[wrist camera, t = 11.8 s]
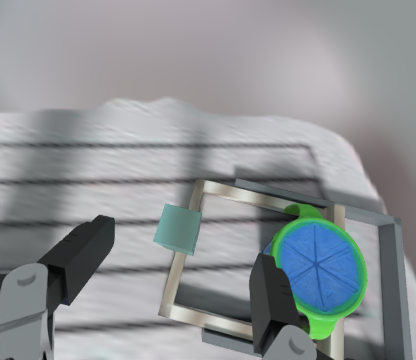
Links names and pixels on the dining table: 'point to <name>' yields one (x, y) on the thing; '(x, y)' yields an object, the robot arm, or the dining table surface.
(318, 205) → the rectangular frame
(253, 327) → the robot arm
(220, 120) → the dining table surface
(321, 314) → the snack cup
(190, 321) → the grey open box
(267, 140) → the dining table surface
